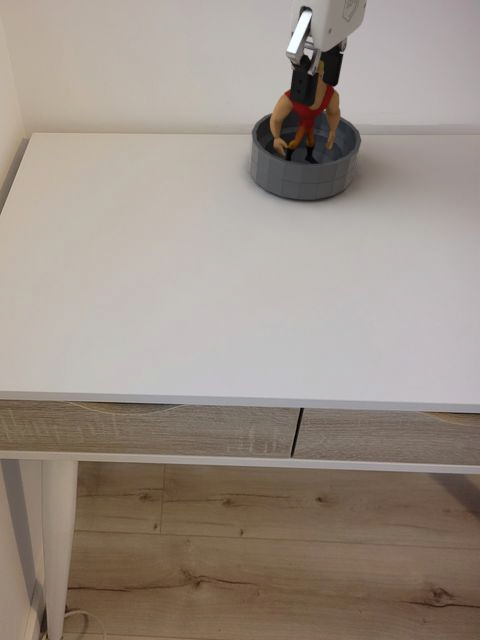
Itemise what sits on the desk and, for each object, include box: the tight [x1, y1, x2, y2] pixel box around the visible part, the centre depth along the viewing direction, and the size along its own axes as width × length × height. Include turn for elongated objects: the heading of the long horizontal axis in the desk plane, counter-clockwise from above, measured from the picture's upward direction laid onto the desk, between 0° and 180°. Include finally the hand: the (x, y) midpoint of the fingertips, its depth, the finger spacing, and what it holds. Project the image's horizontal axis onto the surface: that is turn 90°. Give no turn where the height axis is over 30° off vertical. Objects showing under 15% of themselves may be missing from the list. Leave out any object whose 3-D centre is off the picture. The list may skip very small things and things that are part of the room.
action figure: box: [270, 58, 342, 164], centre depth 78 cm, size 10×4×15 cm, turn 102°
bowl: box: [248, 110, 362, 200], centre depth 83 cm, size 14×14×6 cm
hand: (313, 91), depth 76 cm, fingers closed on action figure, 5 cm apart
